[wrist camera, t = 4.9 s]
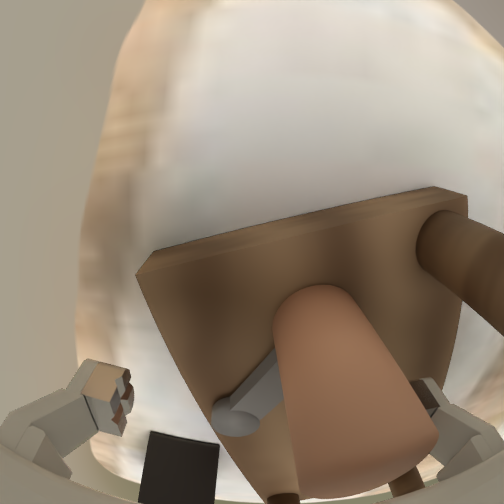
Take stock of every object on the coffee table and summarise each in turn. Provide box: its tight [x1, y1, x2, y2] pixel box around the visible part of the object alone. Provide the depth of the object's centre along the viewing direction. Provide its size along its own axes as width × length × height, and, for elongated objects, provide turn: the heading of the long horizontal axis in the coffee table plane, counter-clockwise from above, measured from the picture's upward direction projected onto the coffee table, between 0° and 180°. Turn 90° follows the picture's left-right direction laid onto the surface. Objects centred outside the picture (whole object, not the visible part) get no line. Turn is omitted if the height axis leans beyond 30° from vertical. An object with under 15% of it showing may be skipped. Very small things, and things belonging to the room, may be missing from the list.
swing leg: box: [211, 285, 439, 499], centre depth 10 cm, size 10×4×8 cm, turn 147°
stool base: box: [136, 186, 504, 504], centre depth 14 cm, size 16×28×10 cm, turn 14°
